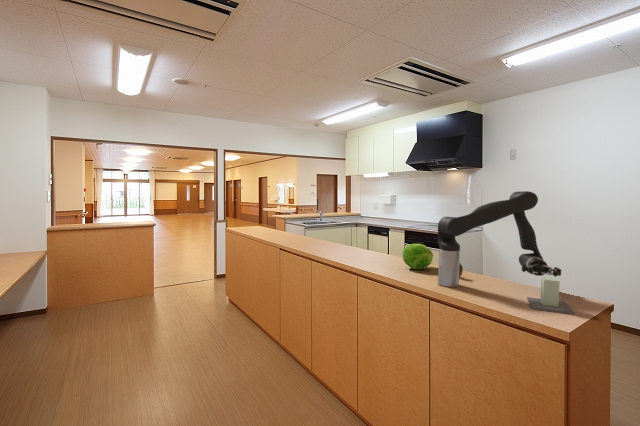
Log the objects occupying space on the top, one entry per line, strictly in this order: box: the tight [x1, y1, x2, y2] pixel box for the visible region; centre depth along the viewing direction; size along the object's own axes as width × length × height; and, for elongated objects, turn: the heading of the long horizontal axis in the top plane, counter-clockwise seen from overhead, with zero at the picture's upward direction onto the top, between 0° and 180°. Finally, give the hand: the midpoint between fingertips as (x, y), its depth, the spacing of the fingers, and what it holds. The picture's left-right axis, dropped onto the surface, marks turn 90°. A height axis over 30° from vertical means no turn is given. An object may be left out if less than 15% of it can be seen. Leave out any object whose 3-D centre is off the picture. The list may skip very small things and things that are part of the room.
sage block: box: [539, 276, 560, 307], centre depth 128 cm, size 5×5×10 cm
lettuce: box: [402, 243, 434, 270], centre depth 194 cm, size 17×20×15 cm
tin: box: [459, 262, 464, 278], centre depth 177 cm, size 15×3×8 cm, turn 21°
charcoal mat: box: [526, 296, 575, 315], centre depth 128 cm, size 13×13×1 cm
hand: (543, 272), depth 138 cm, fingers open, 8 cm apart
